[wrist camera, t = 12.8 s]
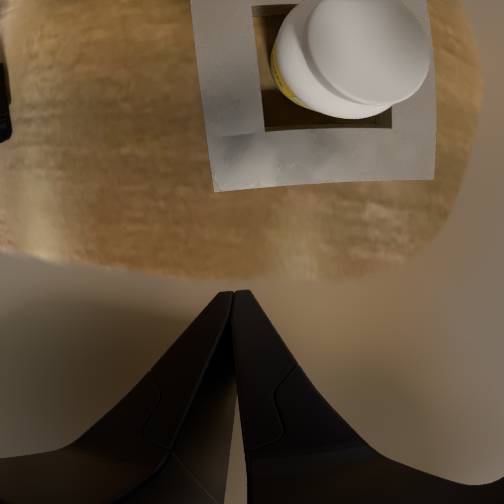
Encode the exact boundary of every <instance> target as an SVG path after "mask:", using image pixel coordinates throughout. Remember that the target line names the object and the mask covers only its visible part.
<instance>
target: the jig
mask: <svg viewBox="0 0 504 504" xmlns="http://www.w3.org/2000/svg"><path fill="white" fill-rule="evenodd" d="M303 1H305V0H190V3H191V13H192V22H193V32H194V41H195V49H196V58H197V66H198V75H199V83H200V91H201V98H202V106H203V114H204V121H205V129H206V136H207V143H208V150H209V157H210V164H211V171H212V178H213V185H214V192H222V191H231V190H241V189H251V188H262V187H274V186H286V185H300V184H315V183H332V182H352V181H378V180H434V168H435V150H436V84H435V67H434V55H433V45H432V36H431V28H430V21H429V15H428V9H427V3H426V0H399V1H400V2H402V3H403V4H404V5H405V6H406V7H408V8H409V9H410V10H411V12H412V13H413V14H414V15H415V16H416V18H417V19H418V21H419V22H420V24H421V26H422V27H423V29H424V32H425V34H426V37H427V40H428V44H429V50H430V63H429V69H428V72H427V75H426V78H425V80H424V82H423V83H422V85H421V86H420V88H419V89H418V90H417V91H416V92H415V93H414V94H413V95H412V96H410V97H409V98H407V99H405V100H403V101H401V102H398V103H395V104H393V105H392V106H391V107H389V108H388V109H386V110H385V111H383V112H381V113H379V114H377V115H376V124H374V123H333V124H304V125H286V126H272V127H264V118H263V108H262V98H261V88H260V79H259V70H258V61H257V52H256V43H255V35H254V26H253V18H252V17H259V16H276V15H288V14H289V13H290V12H291V11H292V10H293V9H294V8H295V7H296V6H297V5H298V4H300V3H301V2H303Z"/></svg>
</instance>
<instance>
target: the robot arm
mask: <svg viewBox="0 0 504 504" xmlns="http://www.w3.org/2000/svg"><path fill="white" fill-rule="evenodd" d="M5 132H6V135H5ZM10 137H11V128H10V122H9V116H8V109H7V102H6V93H5V84H4V72H3V64H2V63H0V143H2V142H4V141H6V140H8V139H10ZM150 370H151V371H148V372H147V373H146V374H145V375H144V376H143V378H142V379H141V380H140V381H139V382H138V383H137V384H136V385H135V386H134V387H133V388H132V390H130V392H129V393H128V394H127V395H126V396H125V397H123V398H122V399H121V400H120V401H119V402H118V403H117V404H116V405H115V406H114V407H113V408H112V409H111V410H109V411H108V412H107V413H106V414H105V415H104V416H103V417H102V418H100V419H99V420H98V421H97V422H96V423H95V424H94V425H92V426H91V427H90V428H89V429H88V430H87V431H86V432H84V433H83V434H82V435H81V436H80V437H79V438H78V439H76V440H75V441H74V442H72V443H70V444H69V445H67V446H65V447H63V448H60V449H57V450H54V451H49V452H43V453H36V454H31V455H23V456H15V457H7V458H0V504H224V497H225V490H226V481H227V474H228V466H229V457H230V449H231V440H232V433H233V424H234V416H235V408H236V400H237V394H238V403H239V411H240V421H241V429H242V438H243V446H244V453H245V462H246V472H247V504H504V477H502V478H500V479H499V480H497V481H494V482H492V483H488V484H483V485H466V484H461V483H457V482H454V481H450V480H447V479H444V478H441V477H438V476H435V475H432V474H429V473H426V472H423V471H420V470H418V469H415V468H412V467H409V466H407V465H404V464H402V463H399V462H396V461H394V460H391V459H389V458H387V457H385V456H383V455H382V454H380V453H379V452H377V451H376V450H375V449H373V448H372V447H371V446H369V444H368V443H367V442H366V441H365V440H363V438H361V437H360V436H359V435H358V433H357V432H356V431H355V430H354V429H353V428H351V426H350V425H349V424H348V423H347V422H346V421H345V420H344V419H343V418H342V417H341V416H340V415H339V414H338V413H337V412H336V411H335V410H334V409H333V408H332V406H330V404H329V403H328V402H327V401H326V400H325V399H324V397H323V396H322V395H321V394H320V393H319V392H318V391H317V389H316V388H315V387H314V385H313V384H312V382H311V381H310V380H309V378H308V377H307V376H306V374H305V373H304V371H303V370H302V368H301V367H300V366H299V365H298V363H297V361H296V359H295V358H294V356H293V355H292V353H291V352H290V350H289V349H288V347H287V346H286V344H285V343H284V341H283V340H282V338H281V337H280V335H279V334H278V332H277V331H276V329H275V328H274V326H273V325H272V323H271V321H270V320H269V318H268V317H267V315H266V314H265V312H264V311H263V309H262V308H261V306H260V305H259V303H258V301H257V300H256V298H255V297H254V295H253V294H252V292H251V291H250V290H237V291H235V293H234V292H233V291H225V292H219V293H218V294H217V295H216V296H215V297H214V298H213V300H211V302H210V303H209V304H208V305H207V306H206V307H205V308H204V309H203V311H202V312H201V313H200V314H199V315H198V317H196V318H195V320H194V321H193V322H192V323H191V324H190V325H189V326H188V327H187V329H186V330H185V331H184V332H183V333H182V334H181V335H180V336H179V338H178V339H177V340H176V341H175V342H174V343H173V344H172V345H171V346H170V348H169V349H168V350H167V351H166V352H165V353H164V354H163V356H162V357H161V358H160V359H159V360H158V361H157V362H156V363H155V364H154V365H153V367H152V368H151V369H150Z"/></svg>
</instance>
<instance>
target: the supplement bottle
mask: <svg viewBox="0 0 504 504" xmlns="http://www.w3.org/2000/svg"><path fill="white" fill-rule="evenodd" d="M429 63H430V50H429V44H428V40H427V37H426V34H425V32H424V29H423V27H422V26H421V24H420V22H419V21H418V19H417V18H416V16H415V15H414V14H413V13H412V12H411V10H410V9H409V8H408V7H406V6H405V5H404V4H403V3H402V2H400V1H399V0H305V1H303V2H301V3H300V4H298V5H297V6H296V7H295V8H294V9H293V10H292V11H291V12H290V13H289V14H288V15H287V17H286V18H285V19H284V21H283V23H282V25H281V27H280V29H279V32H278V35H277V38H276V40H275V43H274V46H273V49H272V52H271V57H270V69H271V74H272V77H273V80H274V82H275V84H276V85H277V87H278V88H279V90H280V91H281V92H282V93H283V94H284V95H285V96H286V97H287V98H288V99H290V100H291V101H292V102H294V103H296V104H297V105H299V106H302V107H305V108H308V109H311V110H314V111H317V112H320V113H323V114H326V115H329V116H333V117H338V118H345V119H360V118H367V117H370V116H374V115H377V114H379V113H381V112H383V111H385V110H386V109H388V108H389V107H391V106H392V105H393V104H395V103H398V102H401V101H403V100H405V99H407V98H409V97H410V96H412V95H413V94H414V93H415V92H416V91H417V90H418V89H419V88H420V86H421V85H422V83H423V82H424V80H425V78H426V75H427V72H428V69H429Z"/></svg>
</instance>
